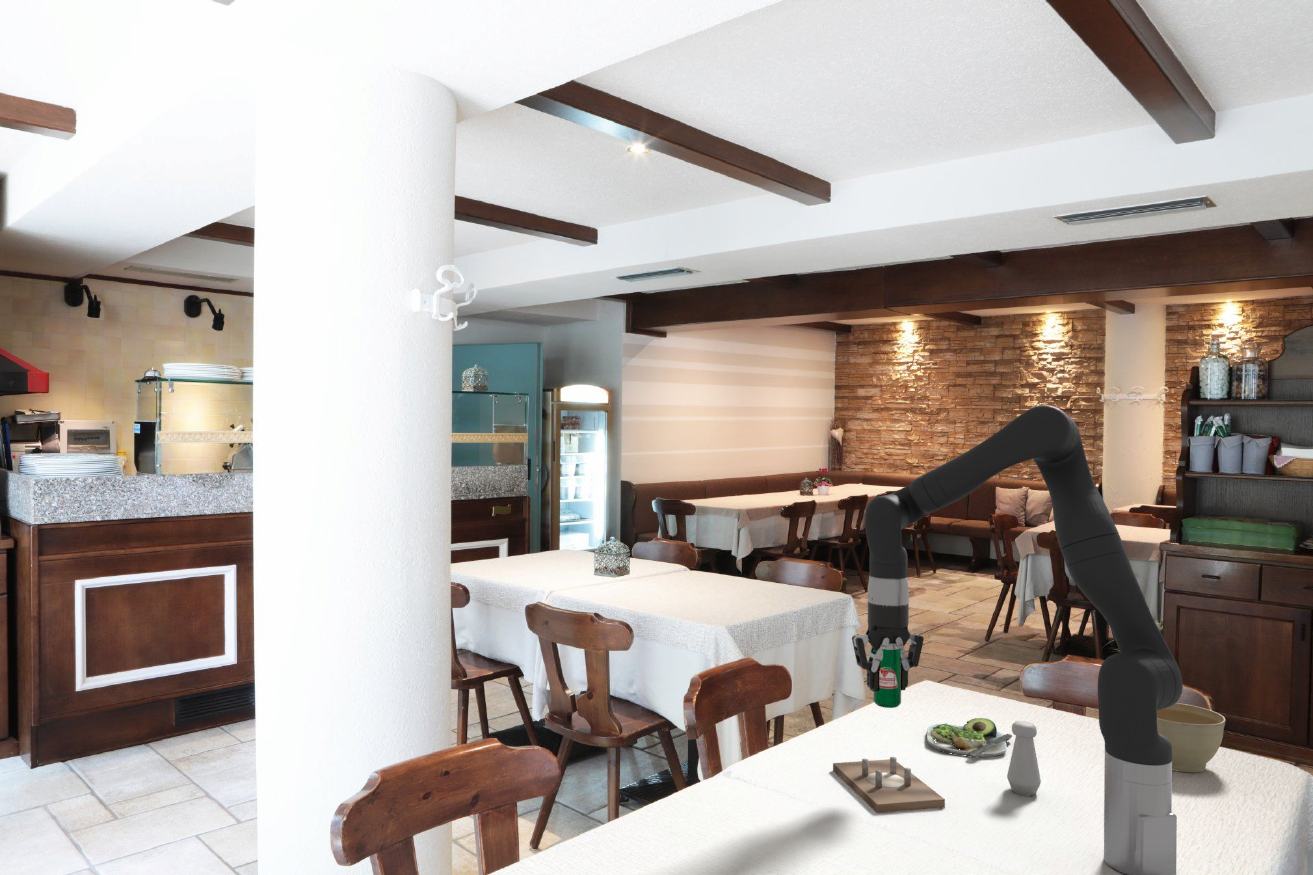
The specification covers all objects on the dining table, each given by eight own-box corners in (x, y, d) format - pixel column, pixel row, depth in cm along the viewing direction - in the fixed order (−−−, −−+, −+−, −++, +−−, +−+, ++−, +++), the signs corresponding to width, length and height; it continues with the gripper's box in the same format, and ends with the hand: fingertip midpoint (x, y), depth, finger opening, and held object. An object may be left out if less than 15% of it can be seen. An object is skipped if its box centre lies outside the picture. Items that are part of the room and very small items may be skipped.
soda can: (870, 706, 164) (870, 642, 164) (877, 699, 169) (877, 637, 169) (897, 710, 162) (898, 645, 162) (903, 702, 166) (903, 640, 166)
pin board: (944, 807, 157) (945, 782, 157) (877, 812, 154) (877, 787, 154) (893, 766, 176) (893, 744, 176) (832, 770, 174) (833, 747, 174)
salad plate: (1014, 769, 176) (1015, 746, 176) (922, 757, 183) (923, 735, 183) (1011, 738, 195) (1012, 718, 195) (928, 728, 201) (928, 708, 201)
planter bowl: (1243, 773, 174) (1244, 719, 174) (1186, 784, 168) (1187, 728, 168) (1170, 747, 189) (1170, 696, 189) (1115, 756, 183) (1115, 704, 183)
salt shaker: (1043, 799, 161) (1044, 728, 161) (1010, 796, 162) (1011, 726, 162) (1036, 786, 166) (1036, 718, 167) (1004, 784, 168) (1005, 716, 168)
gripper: (861, 604, 160) (860, 697, 160) (932, 602, 163) (932, 693, 163) (844, 597, 168) (843, 686, 168) (913, 595, 170) (912, 682, 170)
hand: (887, 689), depth 165 cm, fingers closed on soda can, 5 cm apart
